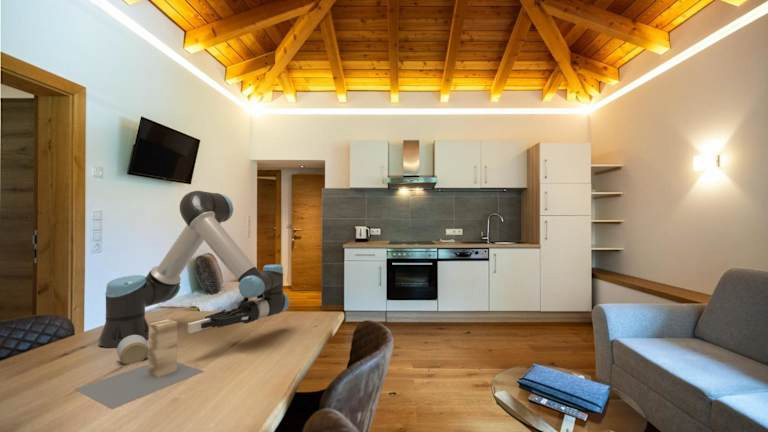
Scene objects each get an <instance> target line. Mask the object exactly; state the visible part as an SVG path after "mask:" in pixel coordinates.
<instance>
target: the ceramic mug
mask: <svg viewBox="0 0 768 432" xmlns="http://www.w3.org/2000/svg"><path fill="white" fill-rule="evenodd" d="M116 350H117V351H116V352H117V356H118V358H119V361H120V362H121V363H122V364H123V365H131V364H135V363H139V362H142V361H143V362H144V361H145V359H148V355H149V344H148V342H147V339H146V340H145V338H144V337H142V336H140V335H130V336H127V337H126V338H124V339H123V340H122V341H121V342H120V343H119V345H118V347H116Z"/></svg>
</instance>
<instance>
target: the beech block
mask: <svg viewBox="0 0 768 432" xmlns="http://www.w3.org/2000/svg"><path fill="white" fill-rule="evenodd" d="M148 326H149V338H148V348H149V355H148V358H147V360H148V363H147V364H148V374H149V375H152V376H155V377H157V378H159V377H162V376H164V375H167V374H170V373H172V372H175V371H177V362H178V321H176V320H173V319H172V320H171V319H164V320H159V321H156V322H150V323H148Z"/></svg>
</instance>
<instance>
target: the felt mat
mask: <svg viewBox="0 0 768 432" xmlns="http://www.w3.org/2000/svg"><path fill="white" fill-rule="evenodd" d="M204 372H205V370H202V369H198V368H196V367H193V366H189V365H187V364H184V363H180V362H178V361H177V371H175V372H172V373H170V374H167V375H164V376H162V377H159V378H157V377H155V376H152V375H149V374H148V363H147V364H145V365H144V364H143V365H142V366H139V367H136V368H133V369H130V370H129V369H128V370H126V371H123V372H121V373H118V374H114V375H112V376H109V377H106V378H102V379H100V380H97V381H93V382H90V383H88V384H85V385H82V386H79V387H75V388H74V391H77V392H78V393H80V394H83V395H84V396H86V397H88V398H90V399H92V400H94V401H96V402H98V403H99V404H101V405H103V406H105V407H107V408H108V409H111V410H114V409H117V408H119V407H122V406H123V405H126V404H129V403H131V402H133V401H136V400H138V399H141V398H143V397H147V396H149V395H151V394H153V393H156V392H158V391H161V390H163V389H165V388H168V387H171V386H172V385H175V384H177V383H179V382H182V381H185V380H187V379H190V378H192V377H195V376H197V375H199V374H202V373H204Z"/></svg>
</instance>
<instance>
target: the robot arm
mask: <svg viewBox="0 0 768 432" xmlns="http://www.w3.org/2000/svg"><path fill="white" fill-rule="evenodd" d="M179 213H180V215H181V218H182V219H183V221H184V222H185V224H186V225H185V227H184V228H183V230H182V231H181V232H180V235H179V236H178V237H177V238H176V240H175V241H174V242H173V244H172V245H171V247H170V249H169V250H168V252H167V253H166V255H165V256H164V257H163V258H162V261H161V262H160V263H159V264H158V265H156V266H154V267H152V268H151V269H150V271H149V272H148V273H147V275H146V276H145V275H142V274H135V275H134V274H133V275H127V276H121V277H117V278H115V279H112V280H110V281H109V282H108V283H107V284H106V291H105V294H104V295H105V323H104V326H103V328H102V330H101V333H100V336H99V339H98V346H99V345H100V346H103V347H102V348H117V347H118V345H119V343H120V342H121V341H122V340H123V339H124V338H126V337H127V336H130V335H140V336H142V337H144V338H145V340H146V341H147V340H149V323H148V322H147V319H146V308H147V307H151V306H155V305H158V304H162V303H166V302H168V301H171V300H172V299H174V298H175V297H177V296H178V294H179V292H180V290H181V280H182V278H181V274H182V273H183V271H184V270H185V268H186V267H187V265H188V263H189V262H190V261H191V259H192V258H193V257H194V255H195V254H196V253H197V251H198V249H199V248H200V246H201V245H202V244H203V242H205V243H206V244H207V245H208V246H209V248H210V249H211V250H212V252H213V253H214V254H215V255H216V256H217V258H218V260H220V261H221V262H222V263H223V264H224V266H225V267H226V269H227V270H228V271H229V272H230V273H231V274H232V275H233V276H234V278H235V279H236V280H237V282H238V283H239V284H238V290H239V293H240V295H241V296H242V297H244V298H246V299H251V300H248V301H243V302H241V303H240V304H239V305H238V307H237V308H232V309H231V310H230V309H229V310H227V309H223V310H221V311H217V312H215V313H212V314H209V315H207V316H204V318H203V319H199V320H195V321H193V322H192V321H191V322H188V323H187V333H188V334H192V333H196V332H199V331H202V330H206V329H210V328H211V327H212V328H215V327H217V328H223V327H226V326H227V327H228V326H232V325H235V324H240V323H243V324H249V323H252V322H255V321H261V319H265V318H268V317H271V316H274V315H279V314H281V313H283V312H285V311H287V309H289V306H290V299H289V296H288V295H287V294H286V293H284V270H283V269H284V267H283V265H282V264H265V265H264V266H263V267H262V272H261V271H260V270H259V269H258V268H257V267H256V265H255V264H254V263H253V262H252V261H251V260H250V259H249V257H248V256H247V255H246V254H245V252H244V251H243V250H242V249H241V248H240V247H239V245H238V244H237V243H236V241H235V240H234V239H233V238H232V237H231V236H230V234H229V233H228V232H227V230H225V228H224V227H223V226H222V224H221V223H223V222H224V223H225V222H227V221H228V220H229V219H231V218H232V216H233V213H234V205H233V202H232V200H231V199H230V198H229V197H228V196H226V195H225V194H221V193H218V192H209V191H203V190H193V191H190V192H188V193H186V194H185V195H184V196H183V197H182V198H181V200H180V202H179ZM261 295H262V297H259V296H261ZM256 297H259V298H256ZM253 298H254V299H253ZM100 346H99V347H100Z"/></svg>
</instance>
